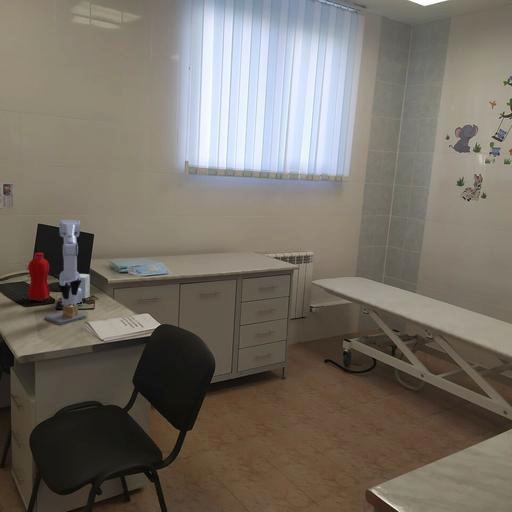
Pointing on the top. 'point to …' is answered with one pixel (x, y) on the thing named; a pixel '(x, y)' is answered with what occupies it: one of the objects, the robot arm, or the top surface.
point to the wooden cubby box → (70, 310)
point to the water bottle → (38, 277)
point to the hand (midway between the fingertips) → (70, 296)
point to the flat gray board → (63, 318)
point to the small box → (85, 285)
